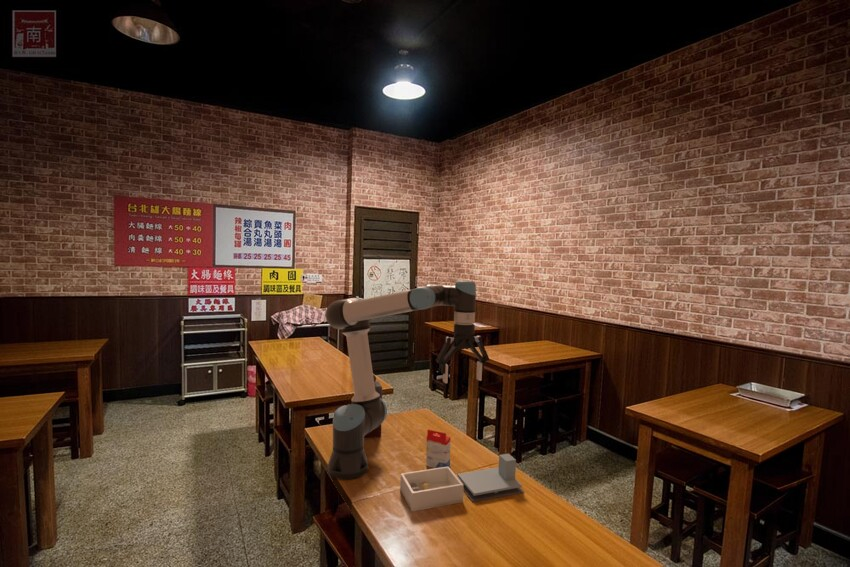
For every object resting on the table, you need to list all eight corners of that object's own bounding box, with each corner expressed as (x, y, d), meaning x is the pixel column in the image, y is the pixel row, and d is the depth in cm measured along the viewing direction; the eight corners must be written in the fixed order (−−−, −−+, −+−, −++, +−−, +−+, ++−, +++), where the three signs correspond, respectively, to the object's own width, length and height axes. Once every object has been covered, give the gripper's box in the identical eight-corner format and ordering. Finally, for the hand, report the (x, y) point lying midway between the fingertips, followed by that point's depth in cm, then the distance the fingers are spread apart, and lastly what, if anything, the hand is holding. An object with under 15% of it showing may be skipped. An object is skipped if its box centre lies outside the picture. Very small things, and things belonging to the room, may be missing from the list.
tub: (411, 511, 133) (412, 493, 133) (400, 490, 145) (400, 473, 145) (462, 502, 139) (463, 484, 139) (447, 482, 151) (448, 466, 151)
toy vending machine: (377, 427, 199) (378, 369, 198) (381, 437, 189) (382, 376, 187) (358, 429, 197) (359, 370, 196) (361, 438, 186) (362, 377, 185)
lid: (473, 499, 140) (474, 473, 140) (457, 479, 153) (457, 455, 152) (521, 490, 146) (522, 465, 146) (501, 472, 159) (502, 448, 159)
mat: (472, 502, 139) (472, 501, 139) (454, 479, 153) (454, 478, 153) (524, 492, 146) (524, 491, 146) (502, 472, 160) (502, 470, 160)
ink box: (450, 465, 164) (451, 429, 163) (445, 471, 159) (446, 433, 159) (430, 460, 168) (431, 425, 167) (425, 466, 163) (426, 429, 162)
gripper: (436, 325, 144) (434, 386, 145) (499, 324, 152) (497, 381, 153) (428, 322, 151) (426, 380, 152) (489, 321, 159) (487, 376, 160)
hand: (462, 381), depth 153 cm, fingers open, 13 cm apart
